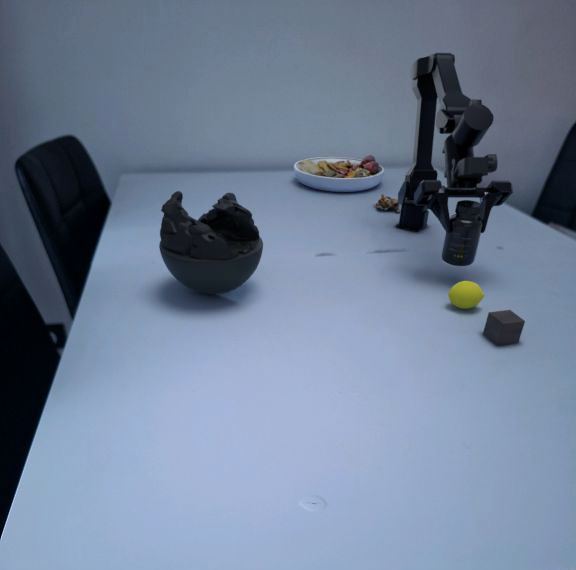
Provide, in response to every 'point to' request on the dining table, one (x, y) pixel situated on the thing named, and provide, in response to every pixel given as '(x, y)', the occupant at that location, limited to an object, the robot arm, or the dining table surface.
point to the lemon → (465, 294)
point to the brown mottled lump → (388, 203)
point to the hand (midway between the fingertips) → (465, 232)
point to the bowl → (339, 173)
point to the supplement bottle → (463, 234)
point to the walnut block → (503, 327)
